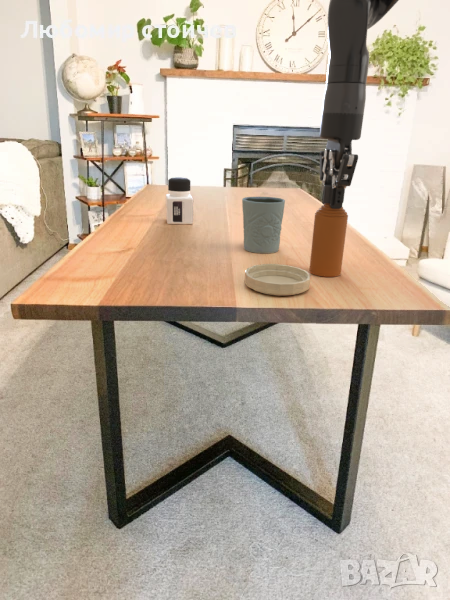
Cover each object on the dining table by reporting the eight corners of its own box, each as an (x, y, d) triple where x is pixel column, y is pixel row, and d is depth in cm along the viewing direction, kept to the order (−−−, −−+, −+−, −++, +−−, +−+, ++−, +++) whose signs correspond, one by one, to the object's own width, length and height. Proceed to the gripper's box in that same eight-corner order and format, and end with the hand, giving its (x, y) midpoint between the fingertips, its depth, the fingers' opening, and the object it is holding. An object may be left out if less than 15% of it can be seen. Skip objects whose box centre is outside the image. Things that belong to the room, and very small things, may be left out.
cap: (319, 200, 88) (321, 184, 87) (338, 201, 89) (340, 184, 88) (326, 204, 85) (328, 186, 84) (346, 204, 85) (348, 187, 84)
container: (193, 224, 132) (193, 179, 127) (167, 224, 131) (166, 179, 126) (190, 219, 139) (191, 176, 134) (166, 219, 138) (165, 176, 133)
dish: (297, 275, 89) (299, 263, 88) (318, 296, 78) (319, 283, 77) (239, 276, 88) (240, 264, 87) (252, 298, 77) (252, 284, 76)
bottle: (333, 267, 95) (343, 186, 89) (345, 276, 89) (356, 190, 83) (305, 267, 94) (313, 186, 88) (315, 277, 89) (324, 190, 82)
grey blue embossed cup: (269, 256, 102) (273, 204, 97) (231, 249, 107) (233, 198, 102) (288, 248, 110) (292, 199, 105) (252, 241, 115) (255, 194, 110)
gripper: (379, 111, 75) (364, 213, 81) (346, 113, 88) (336, 201, 94) (337, 109, 74) (325, 212, 80) (310, 112, 87) (302, 200, 93)
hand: (331, 206), depth 87 cm, fingers closed on cap, 3 cm apart
